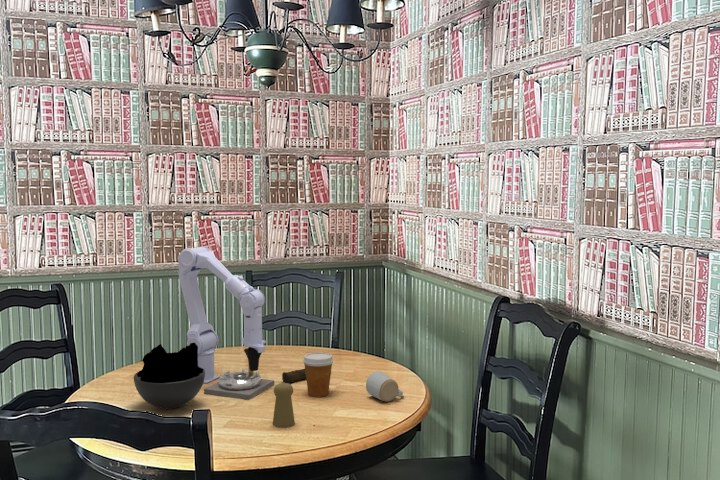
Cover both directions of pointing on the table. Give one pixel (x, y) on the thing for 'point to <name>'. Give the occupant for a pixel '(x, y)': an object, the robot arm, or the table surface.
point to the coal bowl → (170, 377)
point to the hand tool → (293, 376)
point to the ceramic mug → (382, 387)
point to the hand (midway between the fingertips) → (253, 370)
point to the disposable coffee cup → (318, 373)
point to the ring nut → (240, 380)
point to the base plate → (240, 394)
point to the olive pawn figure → (283, 406)
